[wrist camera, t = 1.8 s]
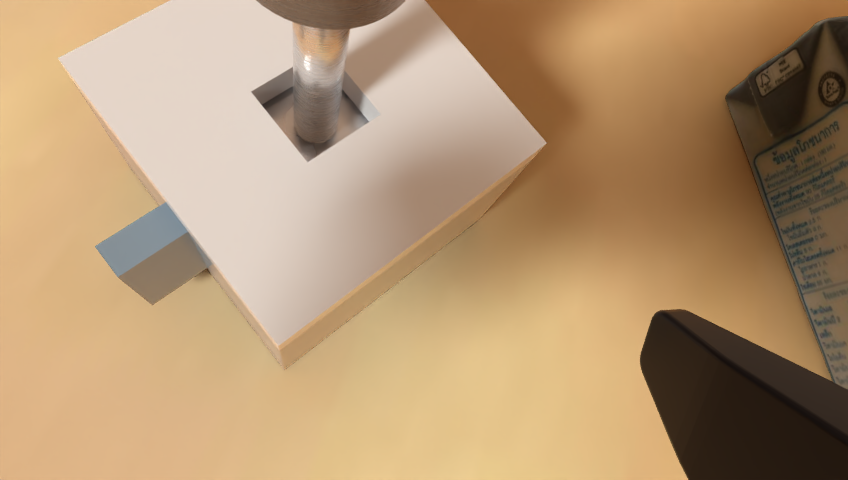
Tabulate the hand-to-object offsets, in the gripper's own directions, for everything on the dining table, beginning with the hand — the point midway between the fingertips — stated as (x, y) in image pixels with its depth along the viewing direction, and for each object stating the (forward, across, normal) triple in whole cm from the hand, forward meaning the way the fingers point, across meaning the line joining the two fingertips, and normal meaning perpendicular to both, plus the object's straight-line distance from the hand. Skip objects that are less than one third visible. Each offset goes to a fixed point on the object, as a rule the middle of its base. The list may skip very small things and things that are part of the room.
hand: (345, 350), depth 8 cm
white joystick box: (+15, 0, +5) cm, 15 cm away
